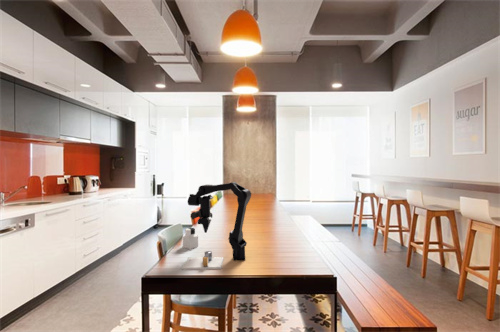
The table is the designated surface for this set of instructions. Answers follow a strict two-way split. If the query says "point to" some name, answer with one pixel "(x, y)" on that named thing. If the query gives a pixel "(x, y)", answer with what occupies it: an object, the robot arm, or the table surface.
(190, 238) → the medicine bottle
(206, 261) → the lock lever
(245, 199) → the robot arm
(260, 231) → the table surface
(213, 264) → the base
